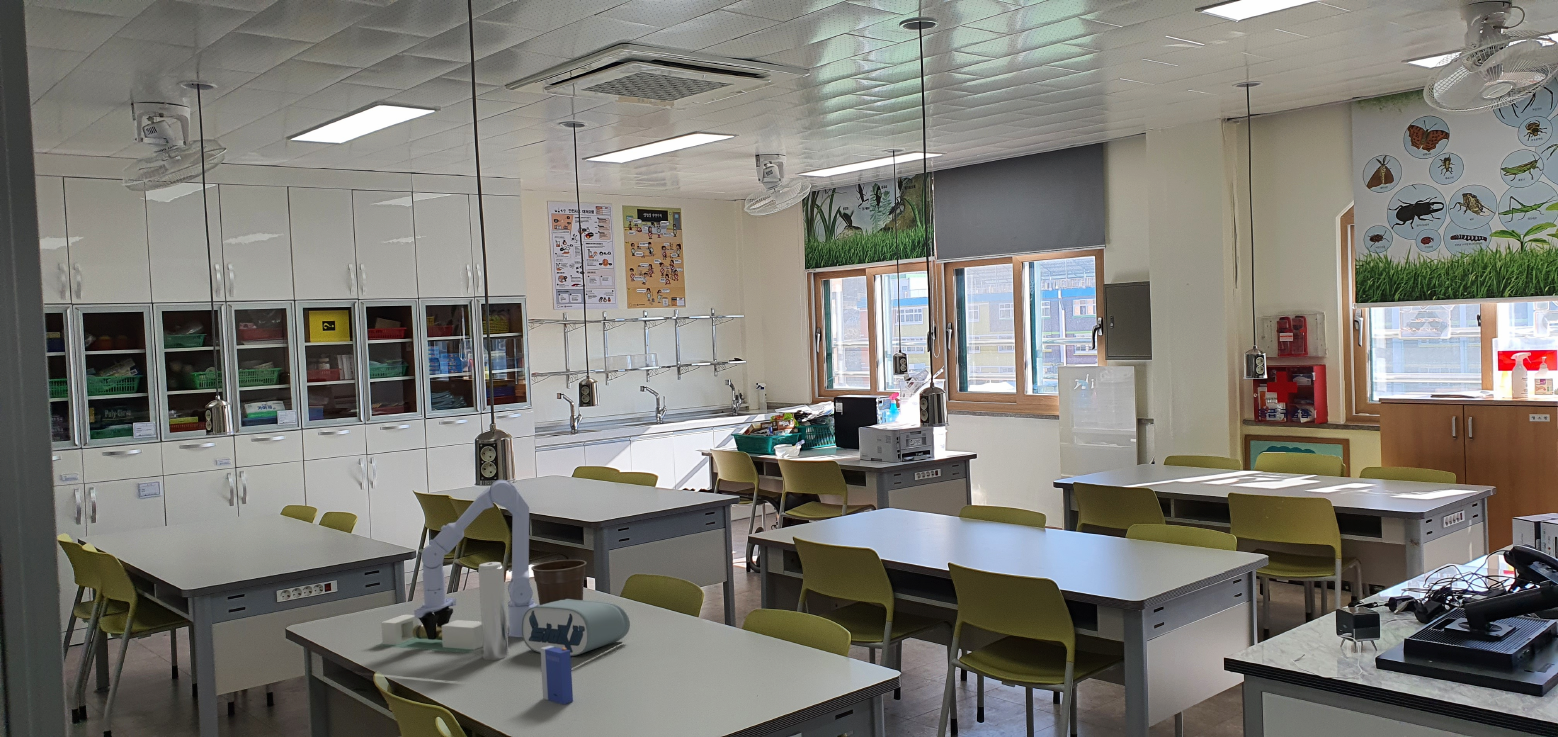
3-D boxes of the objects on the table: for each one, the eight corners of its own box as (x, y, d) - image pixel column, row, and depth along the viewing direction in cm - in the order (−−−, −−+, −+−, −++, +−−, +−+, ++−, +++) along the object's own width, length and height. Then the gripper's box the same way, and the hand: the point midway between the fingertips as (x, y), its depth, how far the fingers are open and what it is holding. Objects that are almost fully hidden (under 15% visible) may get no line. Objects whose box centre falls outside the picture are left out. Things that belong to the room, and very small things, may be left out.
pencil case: (521, 653, 290) (520, 604, 290) (567, 638, 307) (566, 592, 307) (588, 660, 280) (587, 610, 280) (632, 644, 296) (631, 596, 297)
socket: (419, 636, 312) (418, 615, 312) (396, 644, 304) (395, 623, 304) (405, 635, 314) (404, 614, 314) (382, 643, 306) (381, 622, 306)
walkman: (573, 701, 248) (570, 648, 247) (563, 704, 246) (560, 651, 245) (552, 695, 253) (549, 643, 253) (542, 698, 251) (539, 646, 251)
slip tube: (482, 640, 300) (481, 627, 300) (473, 644, 296) (472, 630, 296) (422, 636, 308) (421, 622, 308) (412, 639, 305) (412, 626, 305)
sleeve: (489, 643, 300) (488, 621, 300) (474, 649, 295) (473, 627, 294) (458, 640, 305) (456, 619, 305) (442, 646, 299) (441, 625, 299)
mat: (496, 642, 303) (496, 640, 303) (468, 654, 292) (468, 652, 292) (406, 635, 316) (406, 633, 316) (376, 647, 305) (375, 645, 305)
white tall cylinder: (502, 661, 283) (496, 565, 283) (478, 661, 284) (473, 565, 284) (513, 654, 289) (507, 560, 289) (490, 654, 291) (484, 560, 290)
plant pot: (529, 616, 332) (526, 563, 331) (581, 608, 338) (578, 556, 338) (541, 627, 317) (537, 572, 317) (595, 619, 324) (592, 565, 323)
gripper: (440, 582, 312) (443, 629, 312) (404, 593, 298) (407, 643, 299) (460, 583, 309) (463, 630, 309) (424, 594, 295) (427, 644, 296)
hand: (437, 637), depth 304 cm, fingers closed on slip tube, 4 cm apart
